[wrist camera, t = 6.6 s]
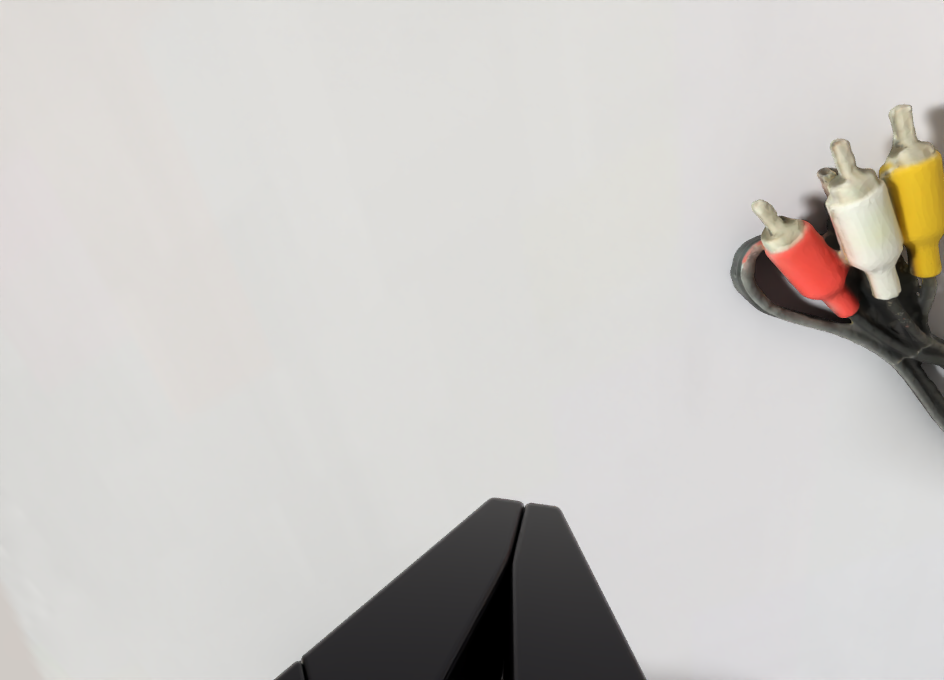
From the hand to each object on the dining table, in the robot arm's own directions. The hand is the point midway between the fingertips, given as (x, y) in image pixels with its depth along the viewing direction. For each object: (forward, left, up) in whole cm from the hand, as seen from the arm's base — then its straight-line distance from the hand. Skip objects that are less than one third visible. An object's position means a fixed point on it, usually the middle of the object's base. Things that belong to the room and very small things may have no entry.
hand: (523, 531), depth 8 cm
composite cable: (0, -8, -11) cm, 13 cm away
